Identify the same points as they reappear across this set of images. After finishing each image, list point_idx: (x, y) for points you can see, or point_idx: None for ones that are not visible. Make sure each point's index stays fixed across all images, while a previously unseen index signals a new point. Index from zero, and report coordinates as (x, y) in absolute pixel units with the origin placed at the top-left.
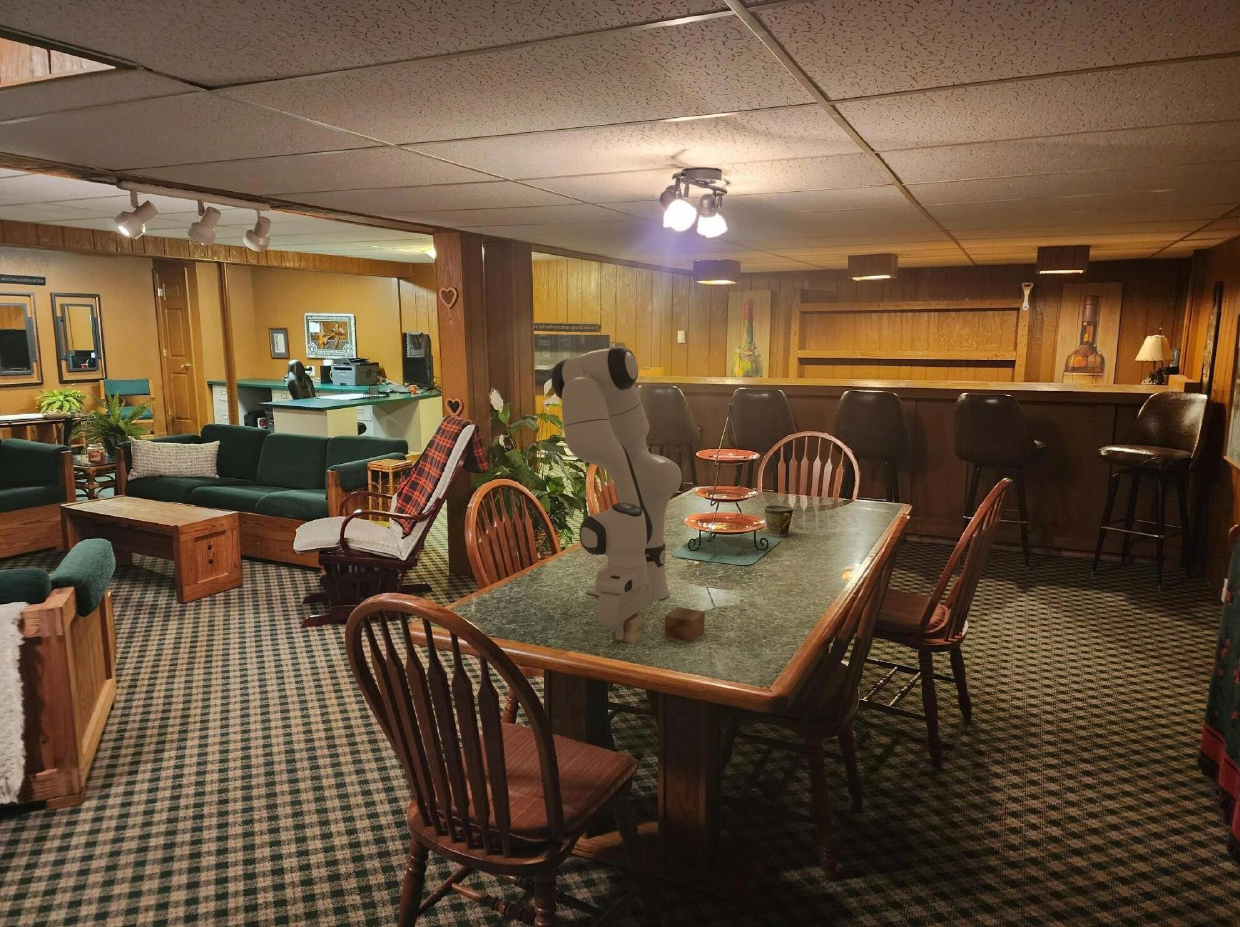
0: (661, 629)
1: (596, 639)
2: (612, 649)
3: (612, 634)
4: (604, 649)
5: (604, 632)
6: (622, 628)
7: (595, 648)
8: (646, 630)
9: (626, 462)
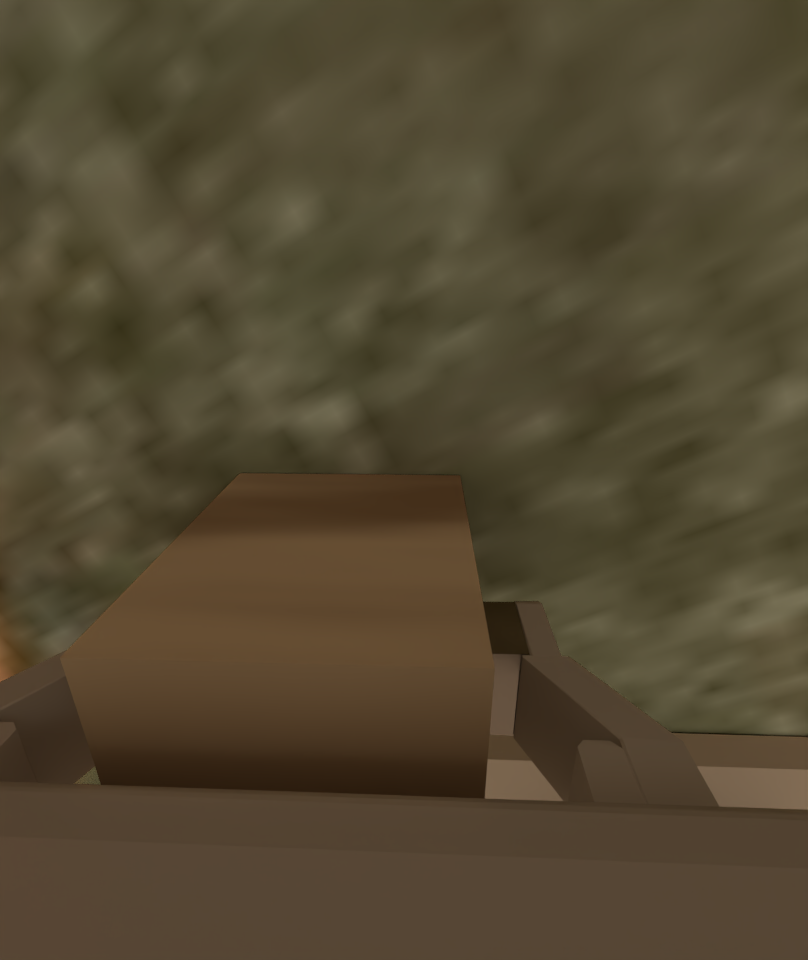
0: (797, 694)
1: (267, 245)
2: (142, 526)
3: (194, 523)
4: (93, 463)
5: (523, 214)
6: (57, 781)
7: (52, 372)
8: (735, 598)
9: None
